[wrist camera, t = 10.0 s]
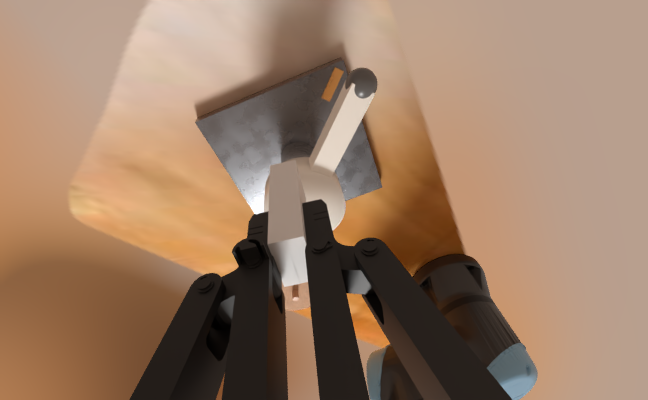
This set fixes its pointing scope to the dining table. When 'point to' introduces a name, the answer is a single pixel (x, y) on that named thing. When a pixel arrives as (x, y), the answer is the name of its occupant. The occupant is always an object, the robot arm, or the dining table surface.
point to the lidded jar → (296, 296)
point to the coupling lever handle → (334, 145)
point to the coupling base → (286, 133)
